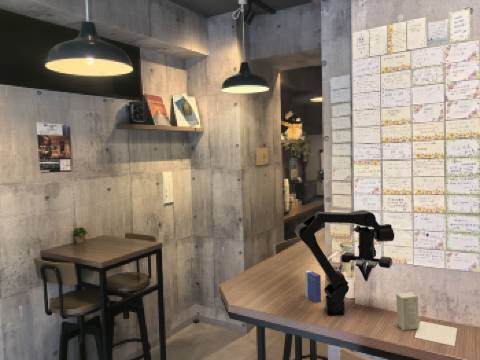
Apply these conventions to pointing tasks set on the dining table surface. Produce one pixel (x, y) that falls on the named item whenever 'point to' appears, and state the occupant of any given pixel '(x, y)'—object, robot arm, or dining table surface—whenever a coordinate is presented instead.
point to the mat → (436, 333)
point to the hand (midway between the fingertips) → (366, 280)
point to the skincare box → (407, 310)
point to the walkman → (313, 286)
